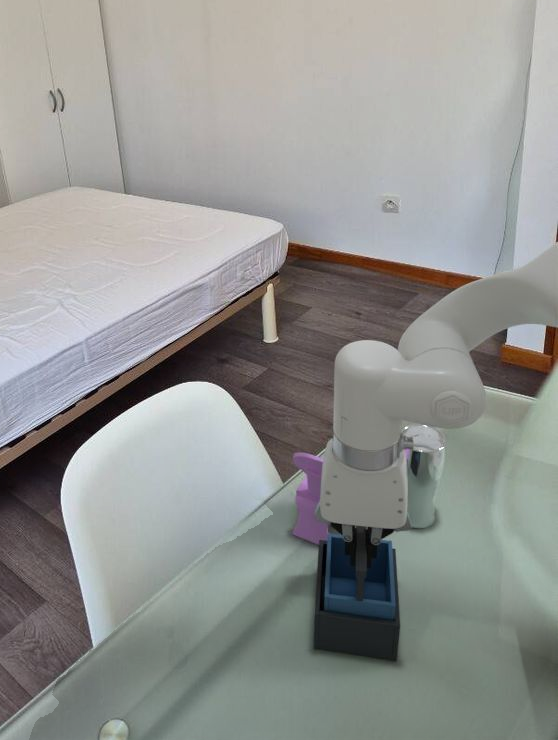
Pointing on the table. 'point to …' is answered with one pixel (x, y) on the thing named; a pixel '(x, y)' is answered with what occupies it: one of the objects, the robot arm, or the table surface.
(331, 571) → the blue bin
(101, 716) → the table surface
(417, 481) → the beer glass
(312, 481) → the toy chair
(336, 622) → the charcoal bin
